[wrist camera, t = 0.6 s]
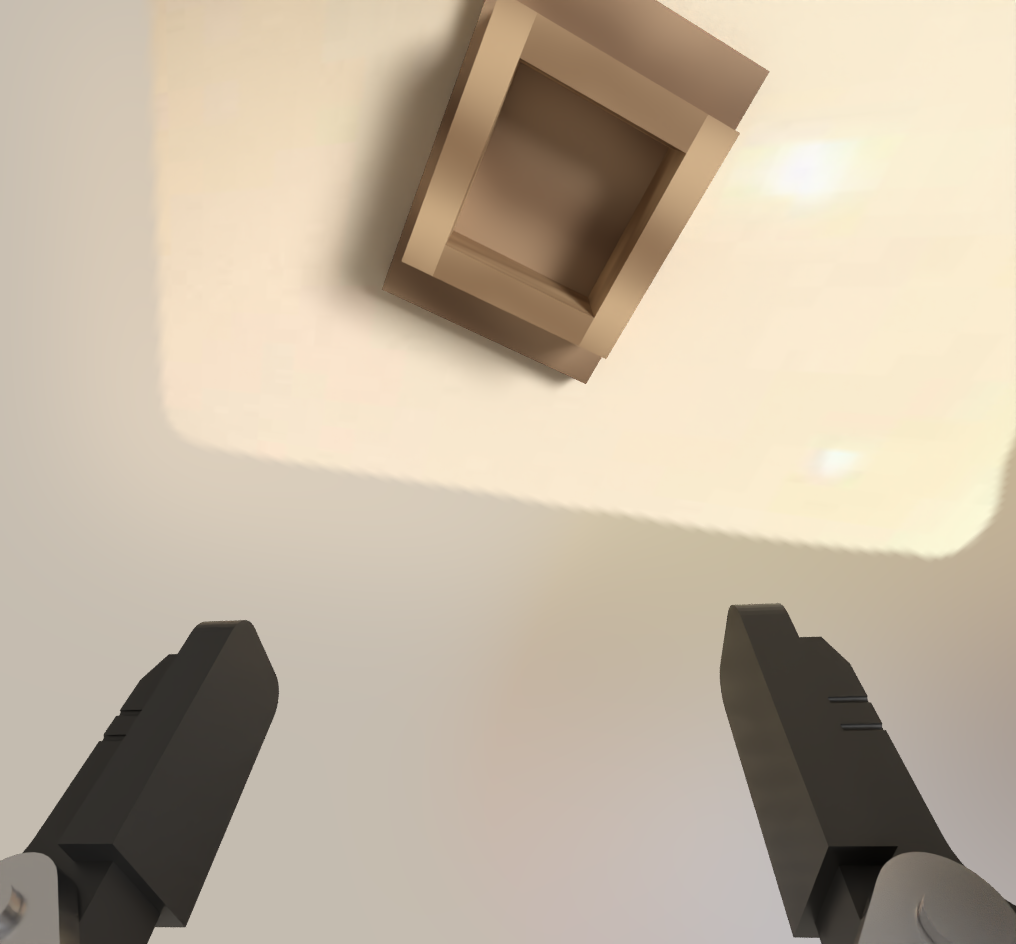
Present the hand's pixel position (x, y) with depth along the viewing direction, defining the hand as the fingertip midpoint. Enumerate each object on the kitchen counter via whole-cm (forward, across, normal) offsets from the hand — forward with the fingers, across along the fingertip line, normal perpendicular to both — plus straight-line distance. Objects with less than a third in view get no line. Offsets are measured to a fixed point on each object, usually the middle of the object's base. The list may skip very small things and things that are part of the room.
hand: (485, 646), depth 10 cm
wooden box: (+26, -2, -4) cm, 26 cm away
